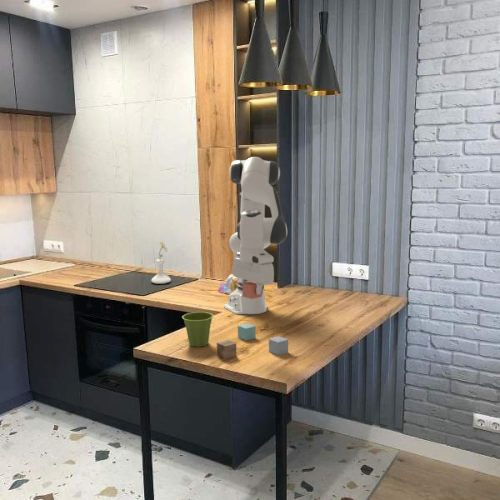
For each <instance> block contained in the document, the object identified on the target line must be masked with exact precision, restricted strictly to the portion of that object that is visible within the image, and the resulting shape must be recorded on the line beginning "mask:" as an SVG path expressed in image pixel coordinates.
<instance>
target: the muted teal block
mask: <svg viewBox="0 0 500 500" xmlns="http://www.w3.org/2000/svg"><path fill="white" fill-rule="evenodd" d="M256 334H257V331H256V325H253V324H251V323H242V324H240V325H237V338H238V339H241V340H243V341H250V340H253V339H256V337H257V336H256Z"/></svg>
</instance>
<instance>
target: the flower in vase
mask: <svg viewBox="0 0 500 500" xmlns="http://www.w3.org/2000/svg"><path fill="white" fill-rule="evenodd" d="M159 243H160V246H161V247H160V249H159V253H158V255H159V256H158V258H159V259H156V260H155V261H156V263H157V265H158V273H157V274H156V275H154V277H152V278H151V280H150V281H151V282H152V283H153V284H157V285H158V284H161V285H163V284H167V283H170V282H171V280H172V279H171V278H170V276H168V275H167V274H166V273H165V272H164V266H163V265H164V262H165V259H164V258H163V259H162V257H163V254H161V252H162V249H163V250H164V251H165V252H166V253H167V252H169V251H168V248H167V247H166V244H165V243H163V241H162V240H159Z"/></svg>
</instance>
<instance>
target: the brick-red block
mask: <svg viewBox="0 0 500 500" xmlns="http://www.w3.org/2000/svg"><path fill="white" fill-rule="evenodd" d="M256 288H257V285H256V282H253V281H252V282H247V283H243V297H246V298H249V299H254V298H259V297H262V288H261V294H255V289H256Z"/></svg>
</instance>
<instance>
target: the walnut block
mask: <svg viewBox="0 0 500 500" xmlns="http://www.w3.org/2000/svg"><path fill="white" fill-rule="evenodd" d="M216 356H217V357H219V358H221V359H223V360H225V359H226V360H228V359H232V358H235V356H236V357H237V343H236V342H234V341H232V340H229V339H225V340H222V341H218V342H216Z"/></svg>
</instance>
